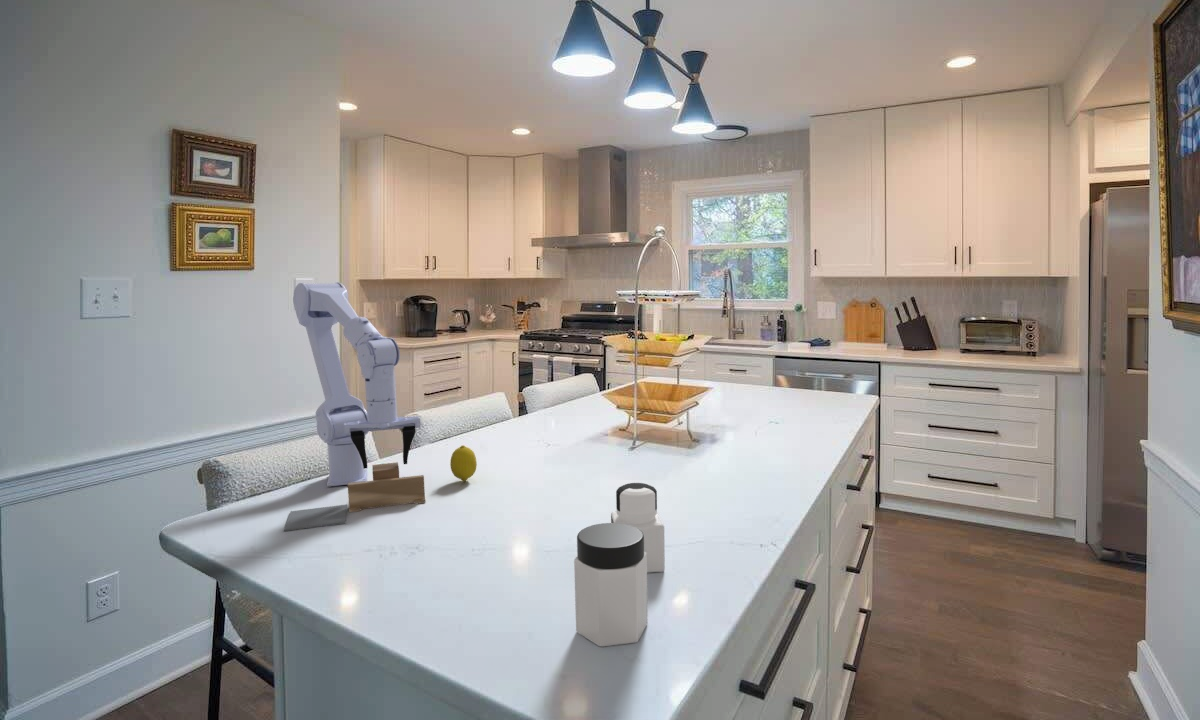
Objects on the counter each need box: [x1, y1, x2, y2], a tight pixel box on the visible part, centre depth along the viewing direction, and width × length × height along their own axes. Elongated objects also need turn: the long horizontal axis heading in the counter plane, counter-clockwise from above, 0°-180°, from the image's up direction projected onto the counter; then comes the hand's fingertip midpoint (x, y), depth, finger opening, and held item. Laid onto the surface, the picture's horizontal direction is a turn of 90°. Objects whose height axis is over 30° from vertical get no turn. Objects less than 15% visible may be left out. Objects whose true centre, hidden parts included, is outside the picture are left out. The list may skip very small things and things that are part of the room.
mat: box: [283, 503, 348, 532], centre depth 120 cm, size 10×10×1 cm
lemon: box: [449, 445, 478, 482], centre depth 140 cm, size 6×6×8 cm
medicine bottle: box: [610, 482, 666, 574], centre depth 97 cm, size 7×7×12 cm
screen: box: [347, 474, 426, 513], centre depth 126 cm, size 3×14×5 cm, turn 109°
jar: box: [573, 522, 649, 648], centre depth 79 cm, size 9×8×12 cm
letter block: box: [372, 461, 400, 481], centre depth 132 cm, size 5×5×6 cm
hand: (385, 465), depth 132 cm, fingers open, 7 cm apart
